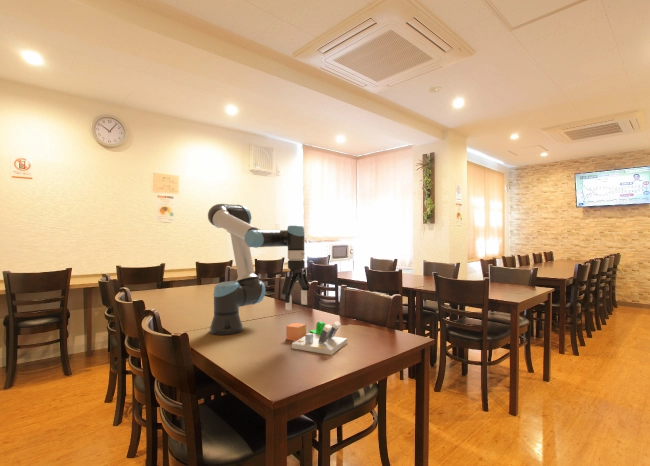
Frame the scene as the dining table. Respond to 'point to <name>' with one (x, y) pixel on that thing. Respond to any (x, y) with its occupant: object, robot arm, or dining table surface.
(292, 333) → the cap
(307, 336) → the post
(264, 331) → the dining table surface
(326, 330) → the lever tagged
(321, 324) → the mechanical part
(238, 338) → the dining table surface
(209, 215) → the robot arm
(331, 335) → the lever plain
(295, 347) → the panel
